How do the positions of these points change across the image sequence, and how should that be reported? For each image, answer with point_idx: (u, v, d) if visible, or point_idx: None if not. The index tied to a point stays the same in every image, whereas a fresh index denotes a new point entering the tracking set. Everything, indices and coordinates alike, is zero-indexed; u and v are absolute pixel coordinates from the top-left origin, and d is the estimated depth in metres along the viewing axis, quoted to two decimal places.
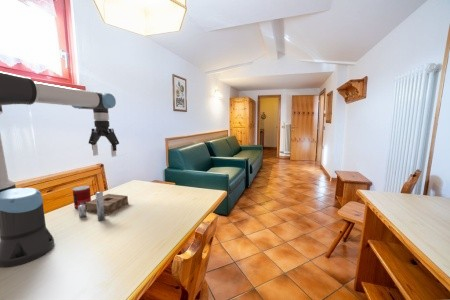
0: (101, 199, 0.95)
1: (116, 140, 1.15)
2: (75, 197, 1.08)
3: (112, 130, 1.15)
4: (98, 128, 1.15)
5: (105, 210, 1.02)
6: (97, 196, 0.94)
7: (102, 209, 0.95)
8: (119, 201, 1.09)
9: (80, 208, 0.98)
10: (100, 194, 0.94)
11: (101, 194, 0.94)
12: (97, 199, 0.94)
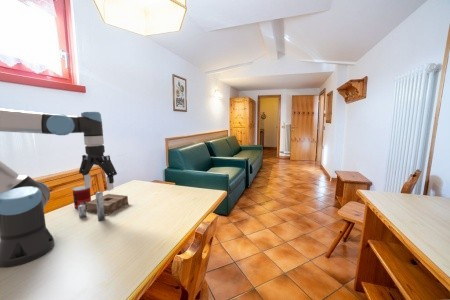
0: (101, 199, 0.95)
1: (113, 170, 0.91)
2: (75, 197, 1.08)
3: (108, 157, 0.91)
4: (90, 155, 0.92)
5: (105, 210, 1.02)
6: (97, 196, 0.94)
7: (102, 209, 0.95)
8: (119, 201, 1.09)
9: (80, 208, 0.98)
10: (100, 194, 0.94)
11: (101, 194, 0.94)
12: (97, 199, 0.94)
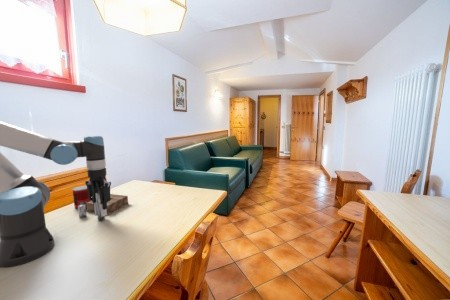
0: None
1: (108, 197, 0.94)
2: (75, 197, 1.08)
3: (109, 185, 0.93)
4: None
5: None
6: (97, 196, 0.93)
7: None
8: (119, 201, 1.09)
9: (80, 208, 0.98)
10: None
11: None
12: (97, 199, 0.94)
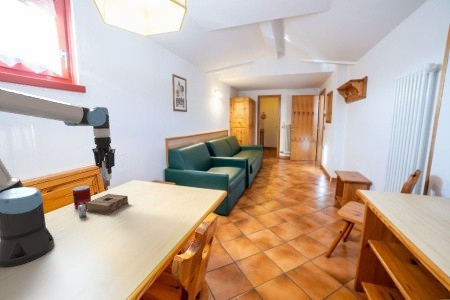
0: None
1: (112, 163, 1.05)
2: (75, 197, 1.08)
3: (113, 151, 1.04)
4: (97, 144, 1.05)
5: (105, 210, 1.02)
6: (103, 164, 1.05)
7: None
8: (119, 201, 1.09)
9: (80, 208, 0.98)
10: None
11: None
12: (103, 166, 1.05)
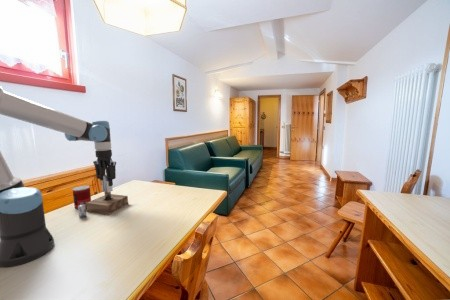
0: None
1: (113, 175, 1.06)
2: (75, 197, 1.08)
3: (114, 164, 1.05)
4: None
5: (105, 210, 1.02)
6: (104, 178, 1.07)
7: None
8: (119, 201, 1.09)
9: (80, 208, 0.98)
10: None
11: None
12: (104, 181, 1.07)
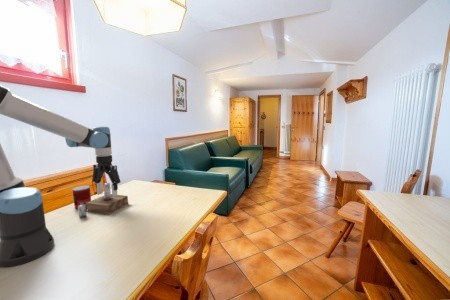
0: (108, 189, 1.08)
1: (118, 179, 1.06)
2: (75, 197, 1.08)
3: (115, 167, 1.06)
4: (100, 163, 1.06)
5: (105, 210, 1.02)
6: (105, 187, 1.07)
7: (109, 198, 1.09)
8: (119, 201, 1.09)
9: (80, 208, 0.98)
10: (108, 185, 1.07)
11: (108, 185, 1.08)
12: (105, 189, 1.07)
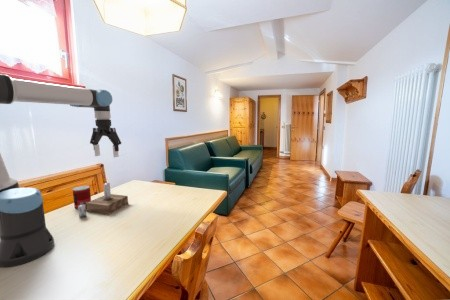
0: (108, 189, 1.08)
1: (118, 140, 1.09)
2: (75, 197, 1.08)
3: (114, 129, 1.09)
4: (99, 127, 1.10)
5: (105, 210, 1.02)
6: (105, 187, 1.07)
7: (109, 198, 1.09)
8: (119, 201, 1.09)
9: (80, 208, 0.98)
10: (107, 185, 1.08)
11: (108, 185, 1.08)
12: (105, 189, 1.07)
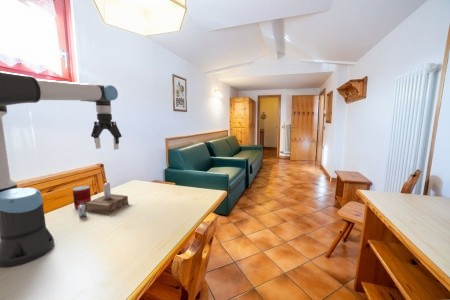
0: (108, 189, 1.08)
1: (118, 133, 1.15)
2: (75, 197, 1.08)
3: (114, 123, 1.15)
4: (101, 121, 1.16)
5: (105, 210, 1.02)
6: (105, 187, 1.07)
7: (109, 198, 1.09)
8: (119, 201, 1.09)
9: (80, 208, 0.98)
10: (107, 185, 1.08)
11: (108, 185, 1.08)
12: (105, 189, 1.07)
